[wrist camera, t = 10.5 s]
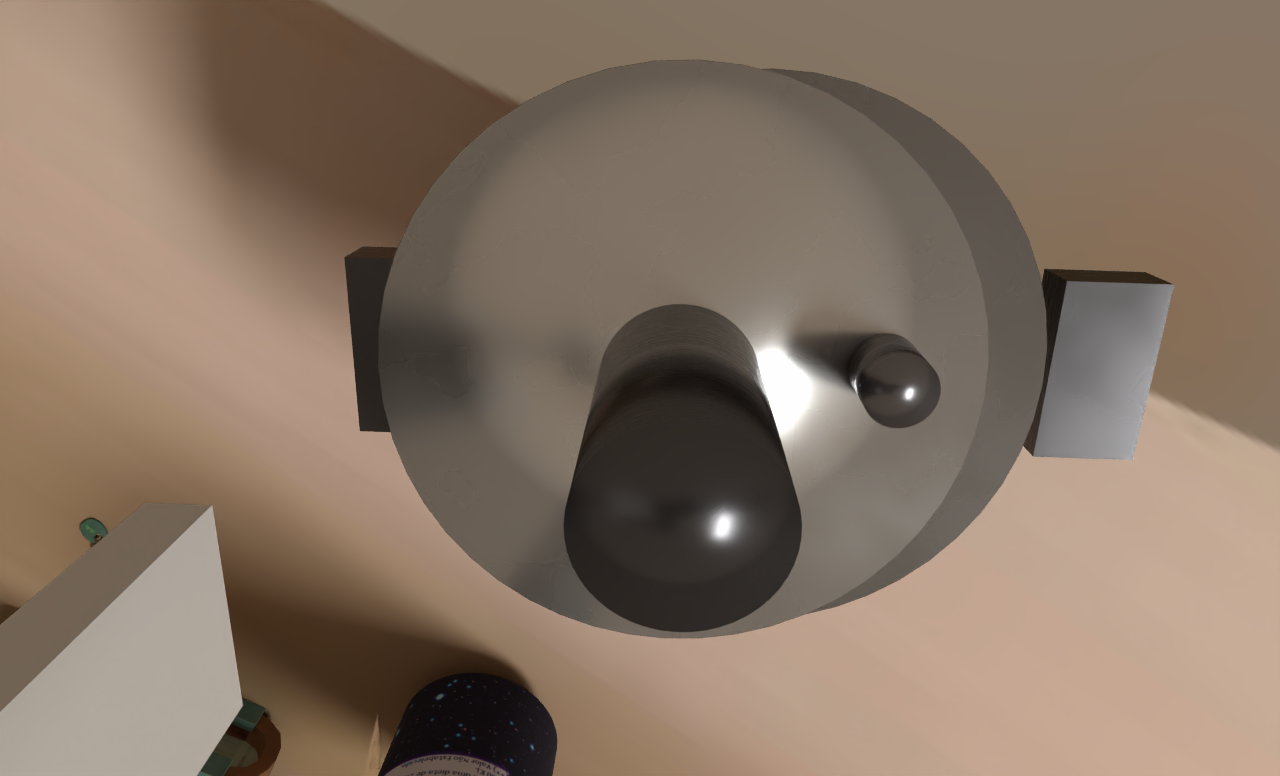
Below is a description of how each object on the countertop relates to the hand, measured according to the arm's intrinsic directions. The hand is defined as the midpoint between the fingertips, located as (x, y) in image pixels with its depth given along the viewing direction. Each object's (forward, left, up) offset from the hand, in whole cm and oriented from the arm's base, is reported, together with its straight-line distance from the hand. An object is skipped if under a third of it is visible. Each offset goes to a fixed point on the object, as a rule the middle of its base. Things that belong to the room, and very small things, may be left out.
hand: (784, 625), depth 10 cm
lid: (-1, 0, -9) cm, 9 cm away
